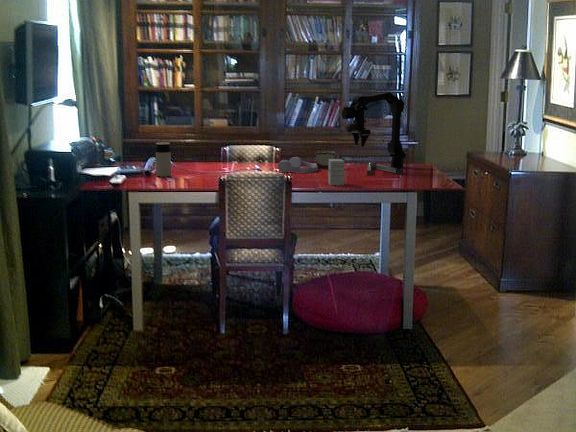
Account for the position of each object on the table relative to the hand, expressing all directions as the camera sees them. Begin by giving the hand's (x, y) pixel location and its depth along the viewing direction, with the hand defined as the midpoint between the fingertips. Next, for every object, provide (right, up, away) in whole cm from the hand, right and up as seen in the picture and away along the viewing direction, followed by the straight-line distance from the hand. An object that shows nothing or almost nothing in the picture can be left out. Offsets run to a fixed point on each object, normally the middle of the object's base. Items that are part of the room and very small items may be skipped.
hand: (359, 145), depth 453 cm
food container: (-19, -12, +11) cm, 25 cm away
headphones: (-34, -14, +3) cm, 37 cm away
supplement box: (-16, -24, -46) cm, 54 cm away
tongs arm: (+17, -14, -2) cm, 22 cm away
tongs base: (+7, -15, -2) cm, 16 cm away
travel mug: (-108, -18, -19) cm, 111 cm away
